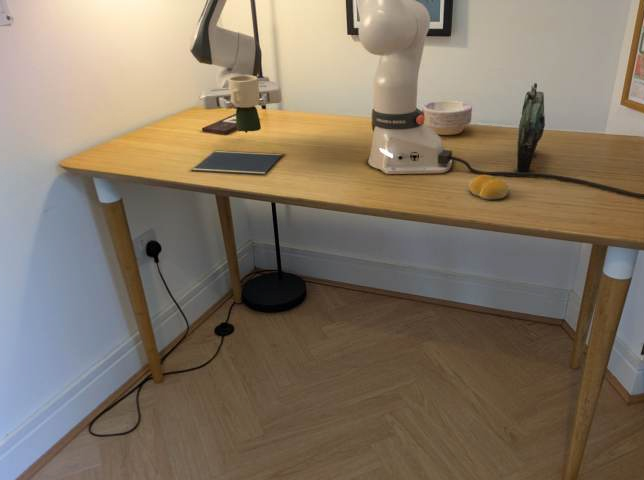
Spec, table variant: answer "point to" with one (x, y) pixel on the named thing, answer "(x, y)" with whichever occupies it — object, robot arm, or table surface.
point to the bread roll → (488, 187)
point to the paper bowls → (447, 116)
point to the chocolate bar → (222, 126)
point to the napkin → (238, 162)
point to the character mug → (245, 102)
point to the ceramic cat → (530, 128)
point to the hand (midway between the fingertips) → (246, 104)
